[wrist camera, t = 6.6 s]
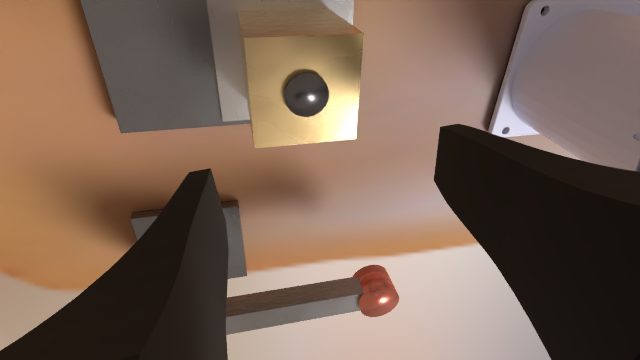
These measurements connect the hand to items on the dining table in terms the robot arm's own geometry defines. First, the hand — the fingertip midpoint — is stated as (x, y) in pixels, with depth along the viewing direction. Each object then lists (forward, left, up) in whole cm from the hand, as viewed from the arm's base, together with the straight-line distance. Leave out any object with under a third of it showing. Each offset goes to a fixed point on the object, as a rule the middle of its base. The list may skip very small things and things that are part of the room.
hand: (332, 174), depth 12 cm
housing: (0, -1, -8) cm, 8 cm away
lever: (+1, +10, -4) cm, 11 cm away
